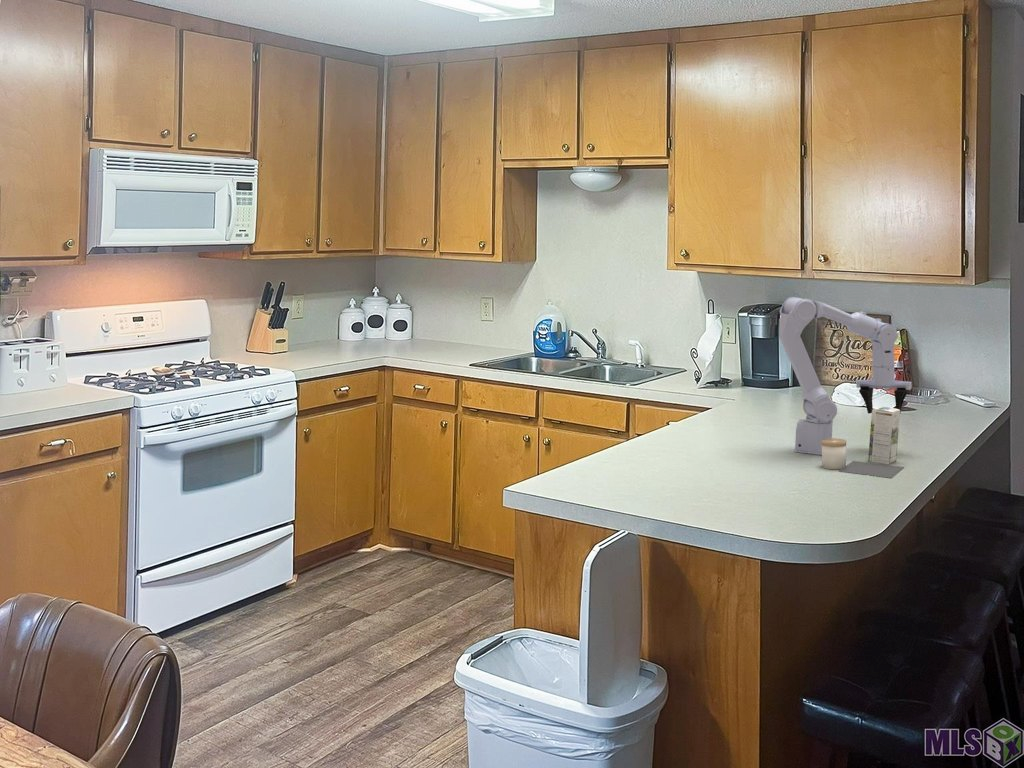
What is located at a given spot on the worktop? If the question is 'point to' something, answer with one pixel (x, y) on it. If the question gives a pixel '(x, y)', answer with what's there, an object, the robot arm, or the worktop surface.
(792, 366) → the robot arm
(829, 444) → the canister
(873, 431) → the syrup box
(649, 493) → the worktop surface
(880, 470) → the mat
